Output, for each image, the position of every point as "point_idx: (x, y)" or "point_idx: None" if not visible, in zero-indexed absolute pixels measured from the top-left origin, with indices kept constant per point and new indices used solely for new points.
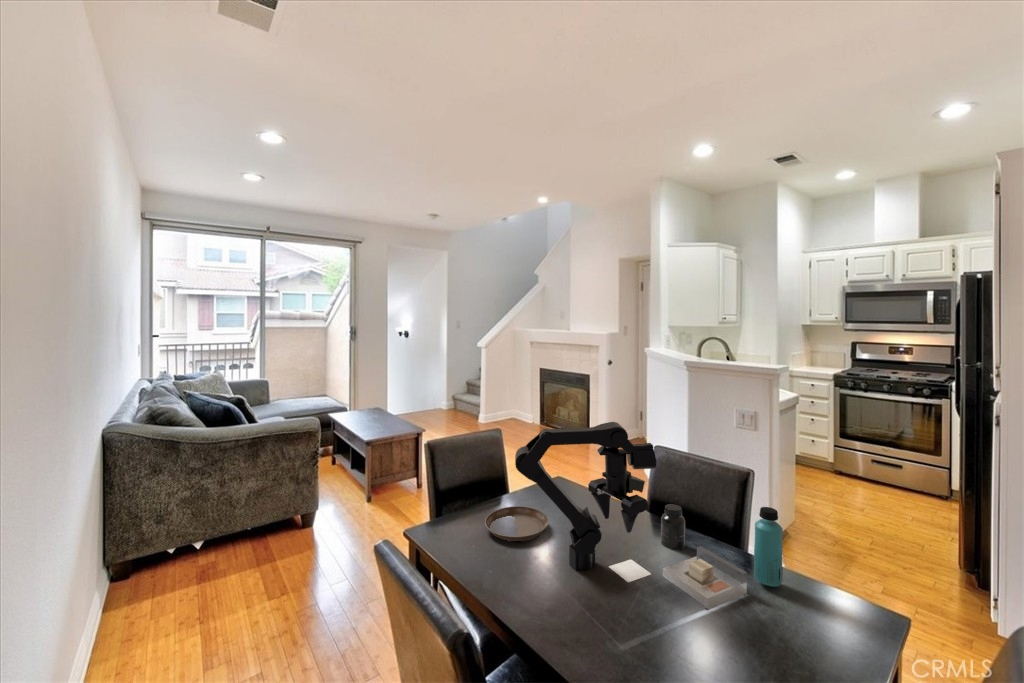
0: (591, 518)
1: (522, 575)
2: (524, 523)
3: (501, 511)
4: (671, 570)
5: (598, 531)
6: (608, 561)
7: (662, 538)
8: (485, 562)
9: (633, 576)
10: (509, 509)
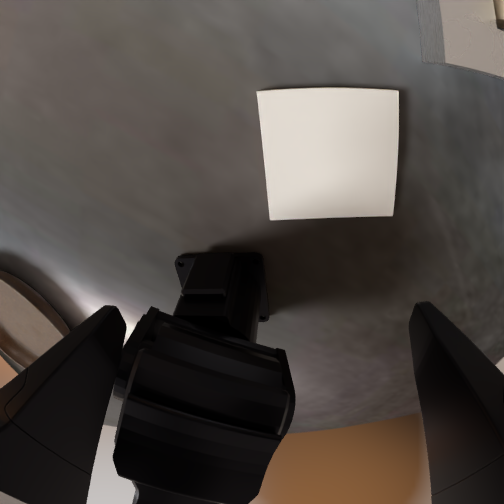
0: (254, 495)
1: None
2: (6, 301)
3: None
4: (471, 49)
5: (283, 422)
6: (217, 181)
7: None
8: None
9: (376, 172)
10: None
